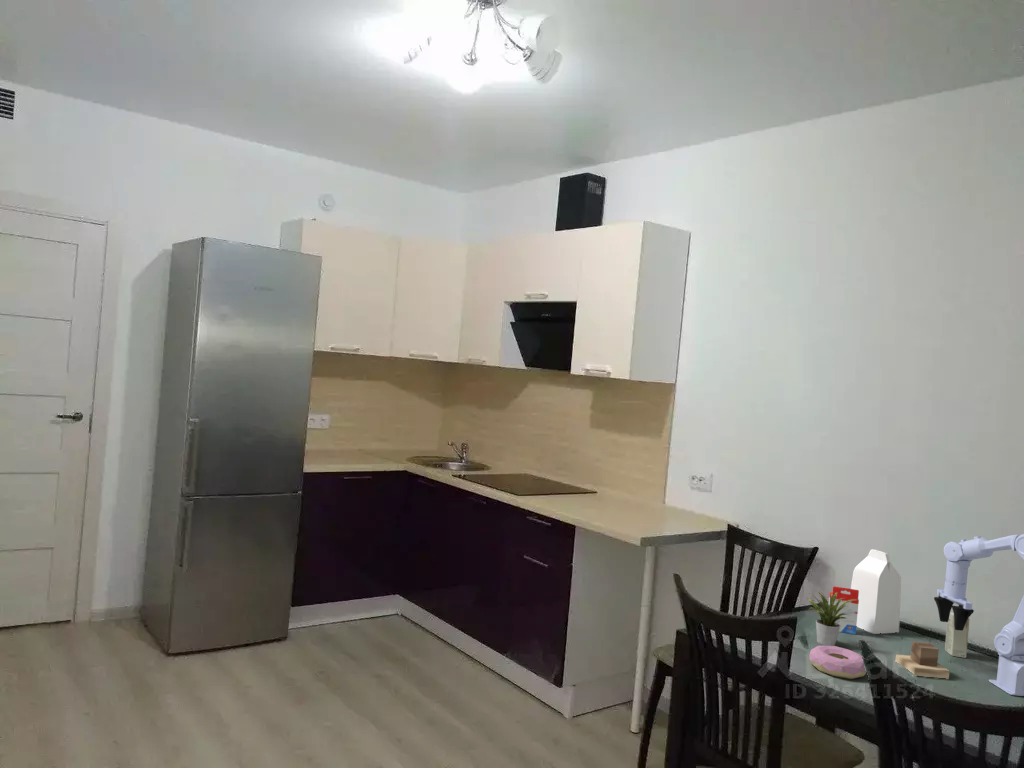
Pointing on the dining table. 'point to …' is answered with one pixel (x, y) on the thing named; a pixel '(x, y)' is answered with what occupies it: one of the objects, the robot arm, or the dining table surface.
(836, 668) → the donut
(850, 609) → the ink box
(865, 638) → the dining table surface
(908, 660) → the oak block
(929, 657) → the walnut cube
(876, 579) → the milk
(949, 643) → the skincare box
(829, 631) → the house plant
